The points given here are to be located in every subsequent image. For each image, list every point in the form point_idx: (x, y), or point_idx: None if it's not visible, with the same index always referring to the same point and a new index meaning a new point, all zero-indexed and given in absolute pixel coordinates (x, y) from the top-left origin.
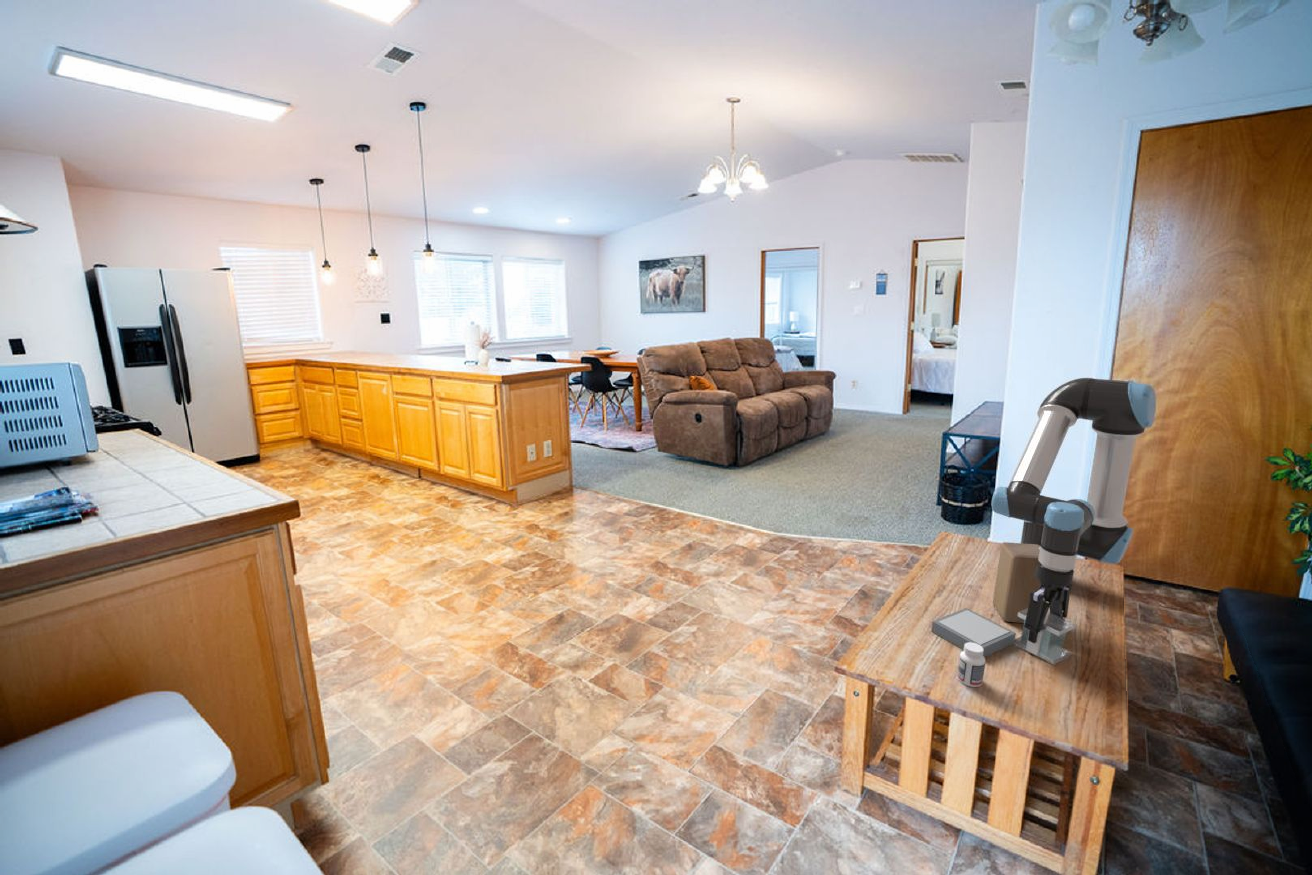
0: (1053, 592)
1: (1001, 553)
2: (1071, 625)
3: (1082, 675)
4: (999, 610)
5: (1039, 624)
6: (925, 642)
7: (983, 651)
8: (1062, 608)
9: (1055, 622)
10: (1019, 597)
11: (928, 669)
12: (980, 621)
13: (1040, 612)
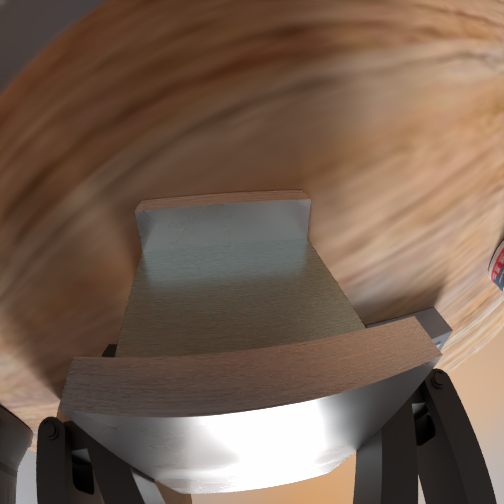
0: None
1: None
2: (153, 419)
3: (261, 60)
4: None
5: (410, 420)
6: None
7: (437, 323)
8: (77, 493)
9: (270, 451)
10: (157, 485)
11: (492, 302)
12: None
13: (469, 488)
